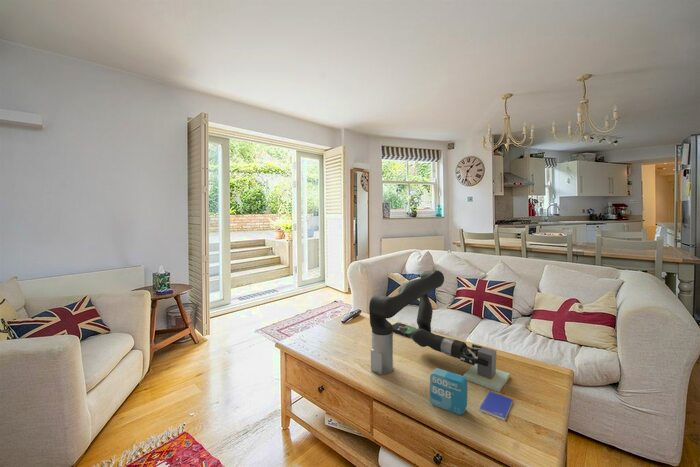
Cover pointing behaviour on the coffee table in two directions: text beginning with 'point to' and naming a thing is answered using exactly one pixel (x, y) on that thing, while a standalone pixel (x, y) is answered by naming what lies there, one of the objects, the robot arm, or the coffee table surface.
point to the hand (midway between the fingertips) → (491, 359)
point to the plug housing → (491, 358)
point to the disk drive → (403, 329)
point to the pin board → (493, 383)
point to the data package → (448, 391)
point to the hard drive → (496, 405)
